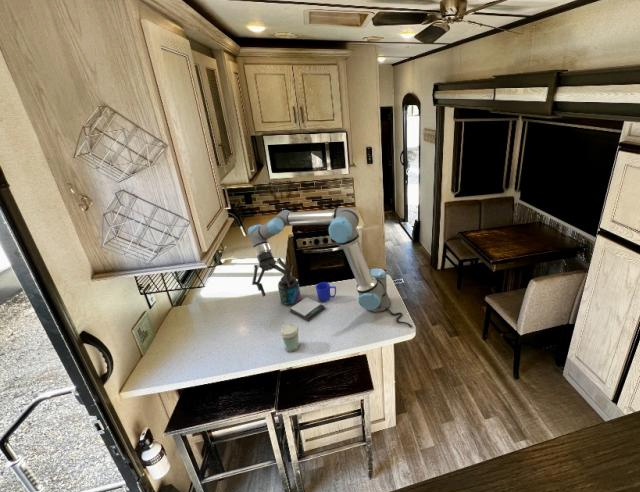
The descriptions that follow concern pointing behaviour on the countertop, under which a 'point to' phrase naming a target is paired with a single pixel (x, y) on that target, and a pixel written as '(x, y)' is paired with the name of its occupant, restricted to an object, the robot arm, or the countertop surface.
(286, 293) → the container
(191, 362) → the countertop surface
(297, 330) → the coffee cup
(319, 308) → the scale
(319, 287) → the mug
